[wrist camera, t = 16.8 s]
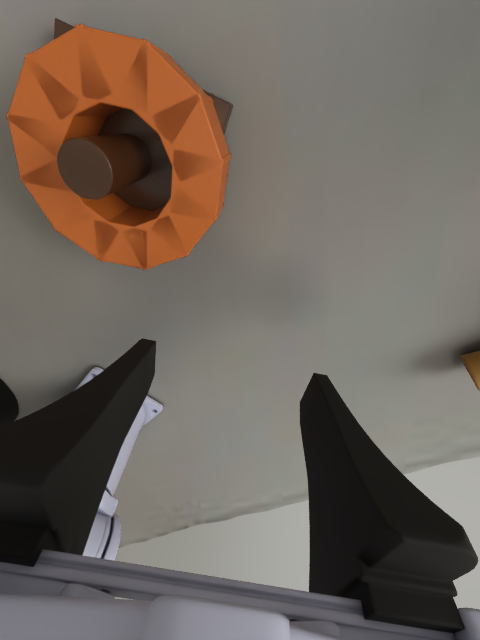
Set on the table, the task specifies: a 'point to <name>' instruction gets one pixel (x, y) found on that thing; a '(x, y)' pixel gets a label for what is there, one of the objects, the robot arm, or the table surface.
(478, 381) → the kendama
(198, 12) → the table surface
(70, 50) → the ring
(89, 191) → the stand
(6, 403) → the spring support
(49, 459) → the robot arm
